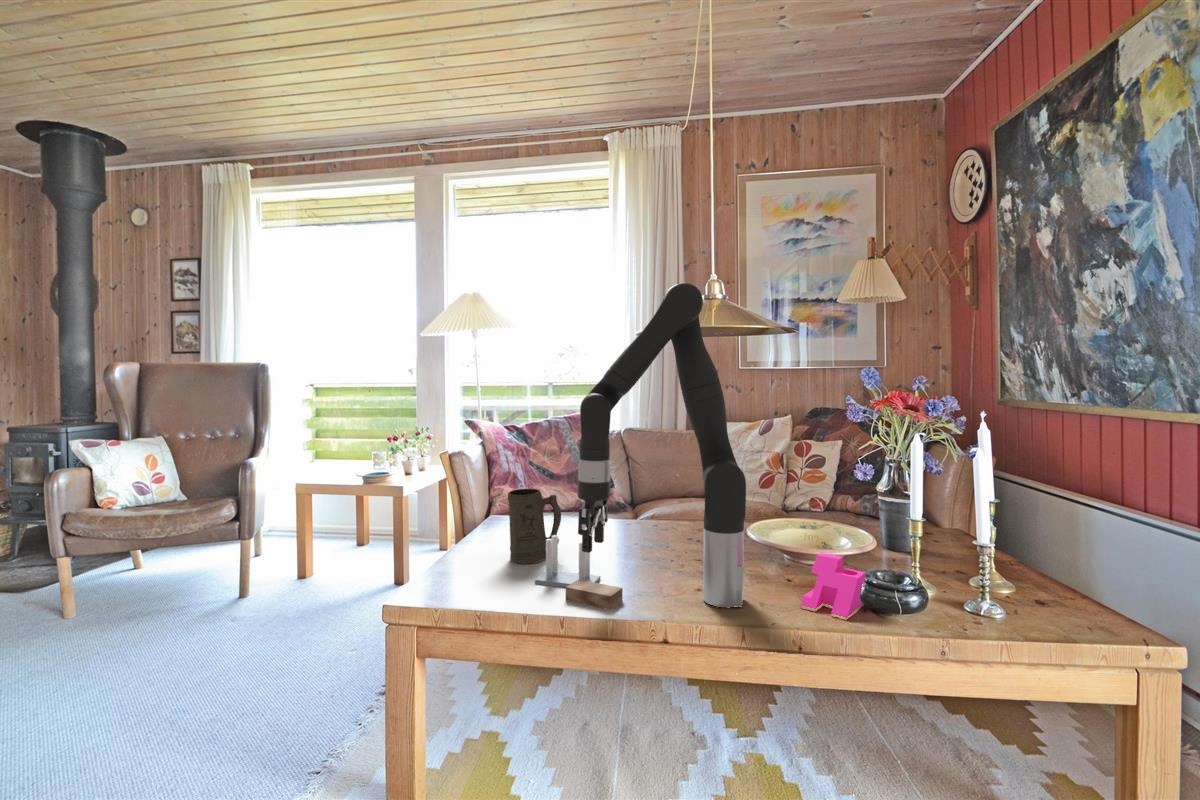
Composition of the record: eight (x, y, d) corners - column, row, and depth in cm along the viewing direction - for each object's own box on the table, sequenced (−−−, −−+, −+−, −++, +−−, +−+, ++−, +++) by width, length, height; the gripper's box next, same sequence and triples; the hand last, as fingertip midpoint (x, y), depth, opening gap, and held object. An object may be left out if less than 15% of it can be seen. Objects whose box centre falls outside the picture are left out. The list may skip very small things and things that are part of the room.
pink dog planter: (820, 594, 139) (821, 552, 139) (865, 605, 133) (865, 561, 132) (800, 608, 131) (800, 564, 130) (847, 621, 124) (847, 574, 123)
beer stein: (509, 566, 160) (509, 495, 159) (505, 555, 170) (505, 488, 170) (563, 562, 164) (563, 492, 164) (556, 551, 174) (556, 486, 174)
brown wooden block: (622, 602, 135) (622, 587, 135) (610, 611, 130) (610, 596, 129) (578, 593, 141) (578, 579, 140) (565, 601, 135) (565, 586, 135)
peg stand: (600, 579, 149) (600, 537, 149) (590, 590, 142) (590, 546, 141) (547, 573, 154) (547, 533, 154) (534, 583, 146) (534, 540, 146)
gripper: (599, 484, 126) (598, 557, 127) (618, 474, 140) (617, 540, 140) (568, 482, 129) (567, 553, 129) (589, 472, 142) (588, 537, 143)
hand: (593, 546), depth 135 cm, fingers open, 8 cm apart
